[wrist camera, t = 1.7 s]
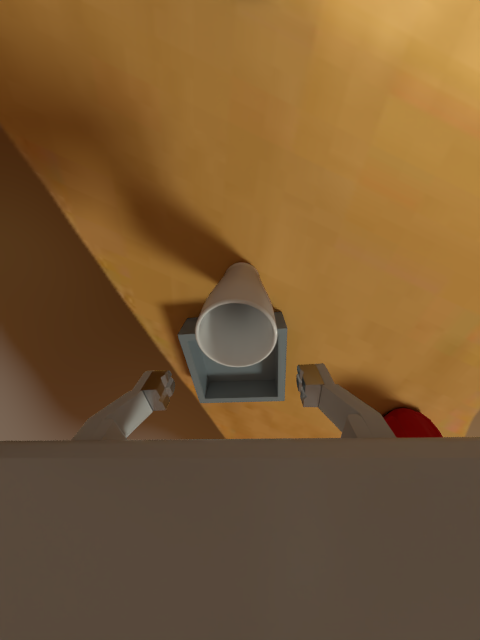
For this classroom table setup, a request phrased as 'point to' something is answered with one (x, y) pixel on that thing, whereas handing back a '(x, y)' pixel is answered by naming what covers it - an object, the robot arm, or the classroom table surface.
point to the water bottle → (410, 424)
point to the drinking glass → (237, 319)
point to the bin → (236, 371)
